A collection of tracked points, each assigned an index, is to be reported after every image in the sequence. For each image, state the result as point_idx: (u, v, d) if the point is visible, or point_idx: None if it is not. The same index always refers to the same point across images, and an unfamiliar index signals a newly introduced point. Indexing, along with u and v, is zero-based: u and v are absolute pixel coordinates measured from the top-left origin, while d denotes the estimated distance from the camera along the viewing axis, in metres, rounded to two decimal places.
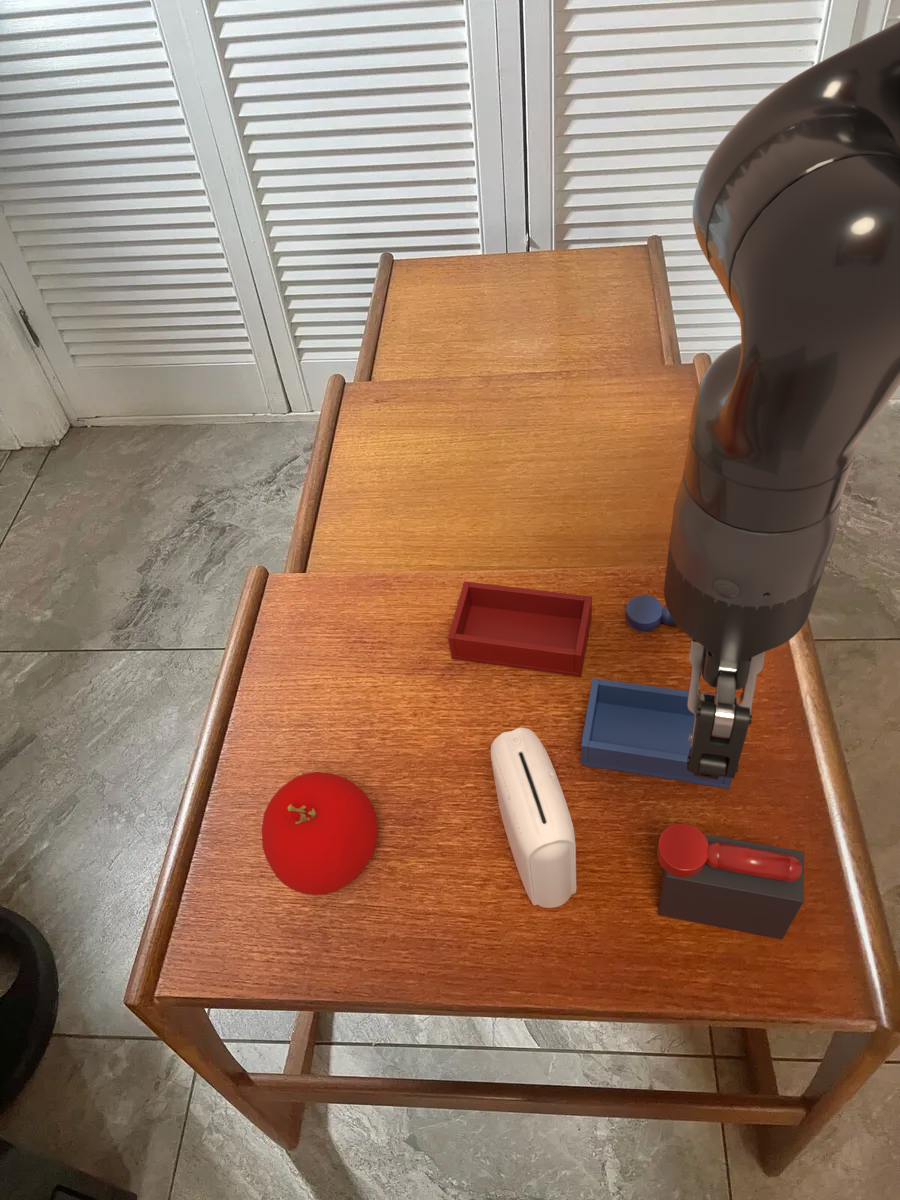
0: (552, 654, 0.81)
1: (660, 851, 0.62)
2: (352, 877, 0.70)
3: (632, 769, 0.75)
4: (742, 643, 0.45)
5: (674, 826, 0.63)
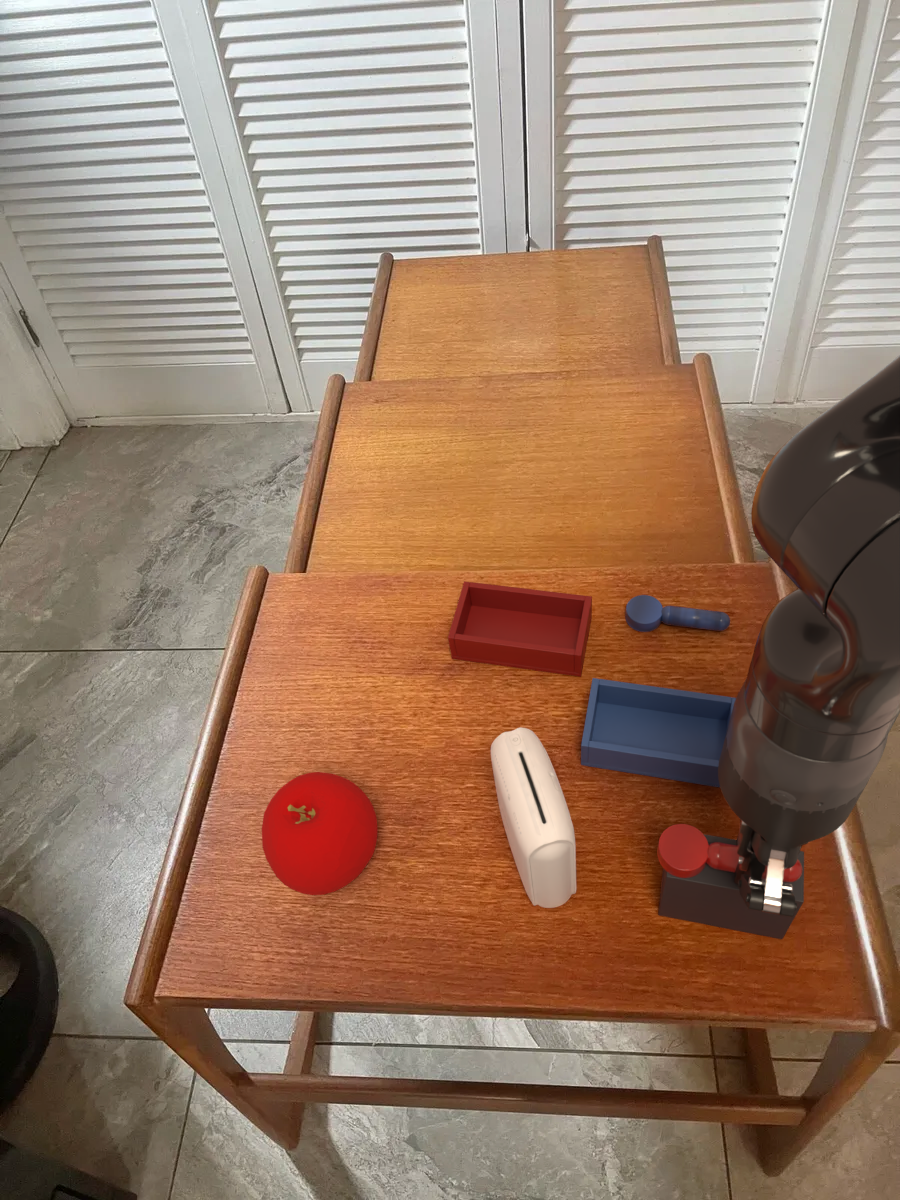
0: (552, 654, 0.81)
1: (660, 851, 0.62)
2: (352, 877, 0.70)
3: (632, 769, 0.75)
4: (794, 835, 0.49)
5: (674, 826, 0.63)
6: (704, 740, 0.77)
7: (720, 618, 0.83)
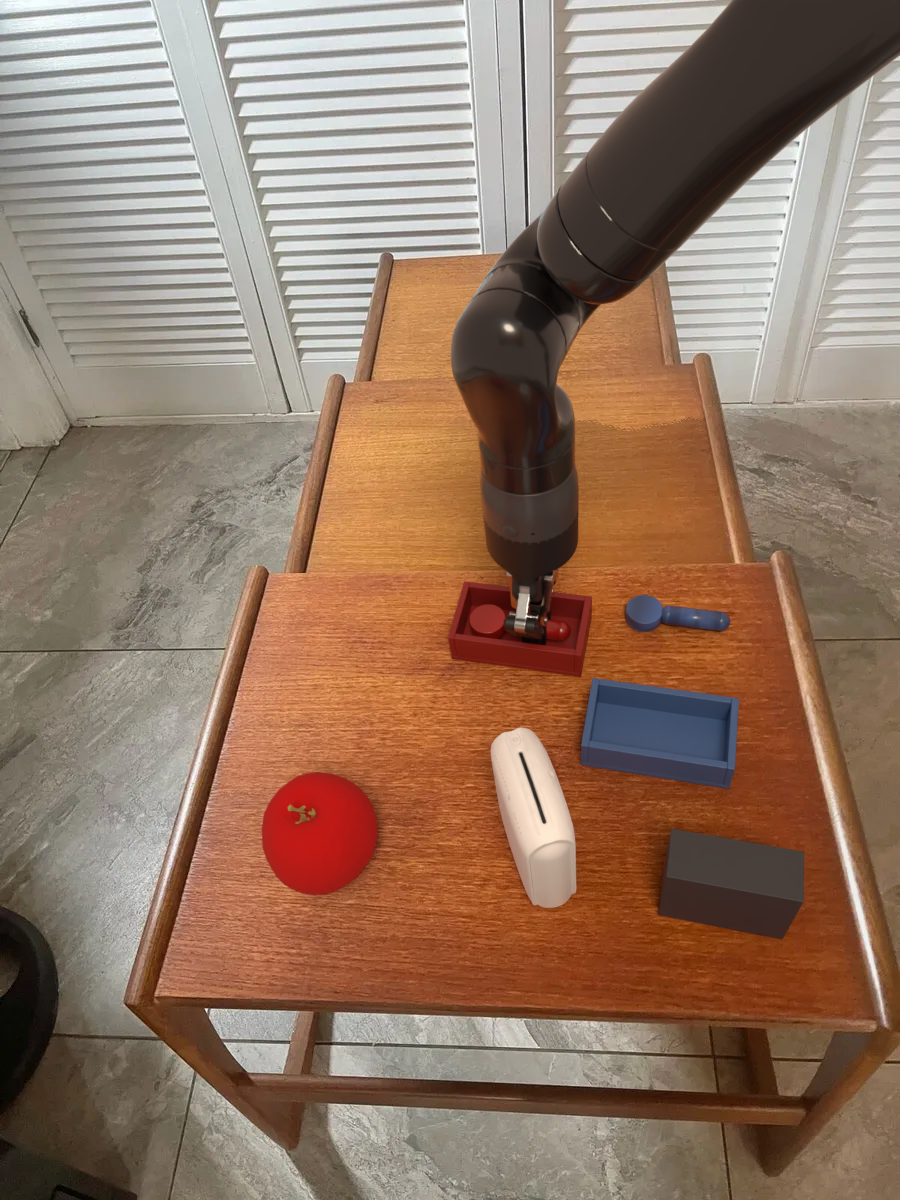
0: (552, 654, 0.81)
1: (470, 621, 0.84)
2: (352, 877, 0.70)
3: (632, 769, 0.75)
4: (528, 568, 0.71)
5: (482, 606, 0.85)
6: (704, 740, 0.77)
7: (720, 618, 0.83)
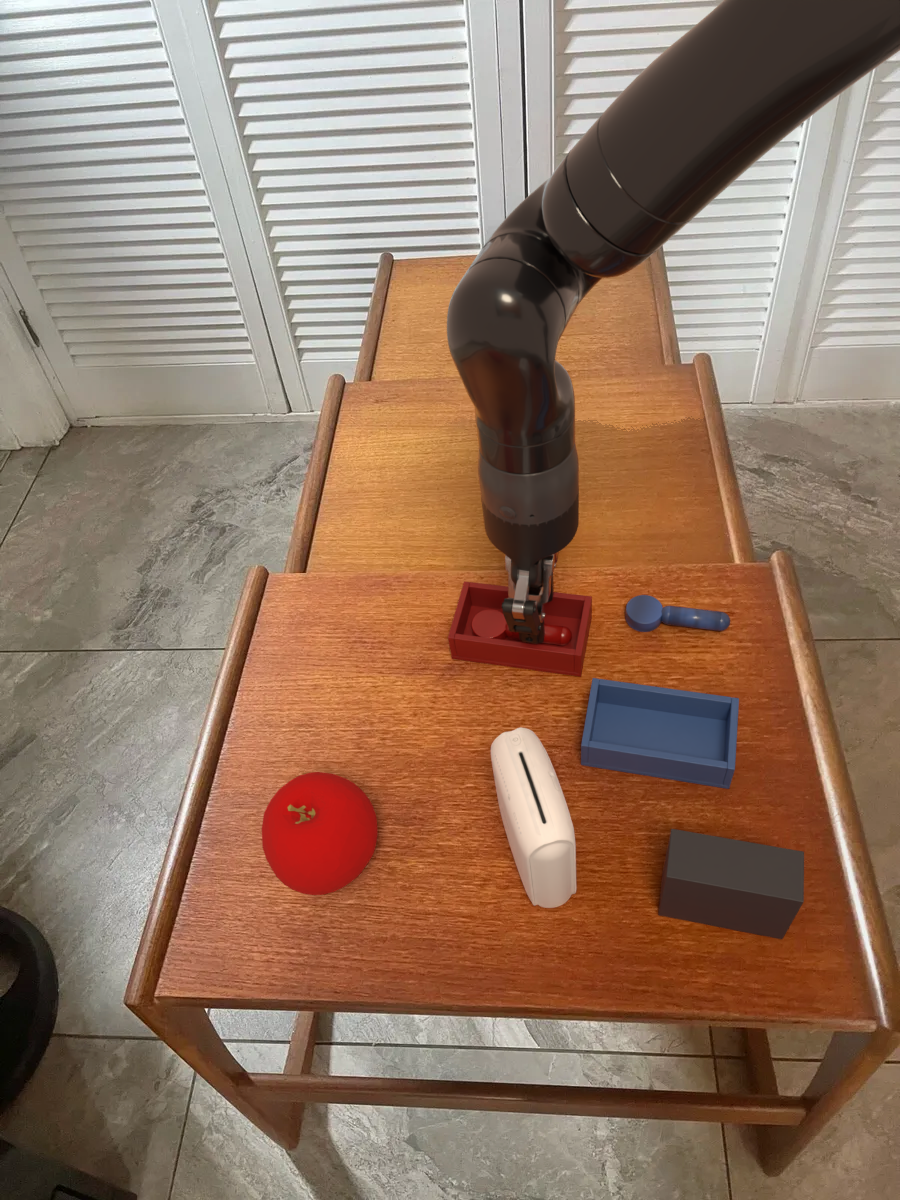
0: (552, 654, 0.81)
1: (472, 626, 0.85)
2: (352, 877, 0.70)
3: (632, 769, 0.75)
4: (527, 551, 0.69)
5: (484, 610, 0.86)
6: (704, 740, 0.77)
7: (720, 618, 0.83)
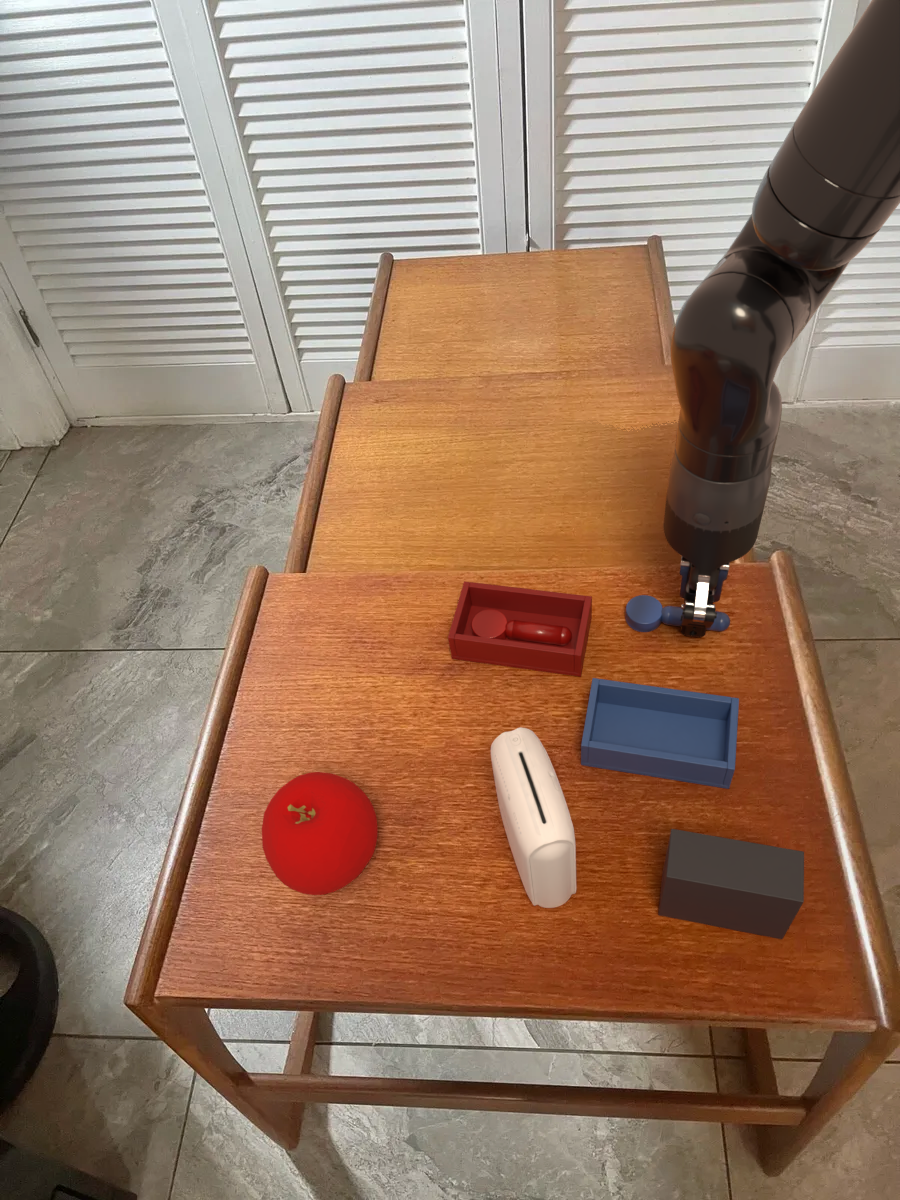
0: (552, 654, 0.81)
1: (472, 626, 0.85)
2: (352, 877, 0.70)
3: (632, 769, 0.75)
4: (713, 557, 0.71)
5: (484, 610, 0.86)
6: (704, 740, 0.77)
7: (720, 618, 0.83)
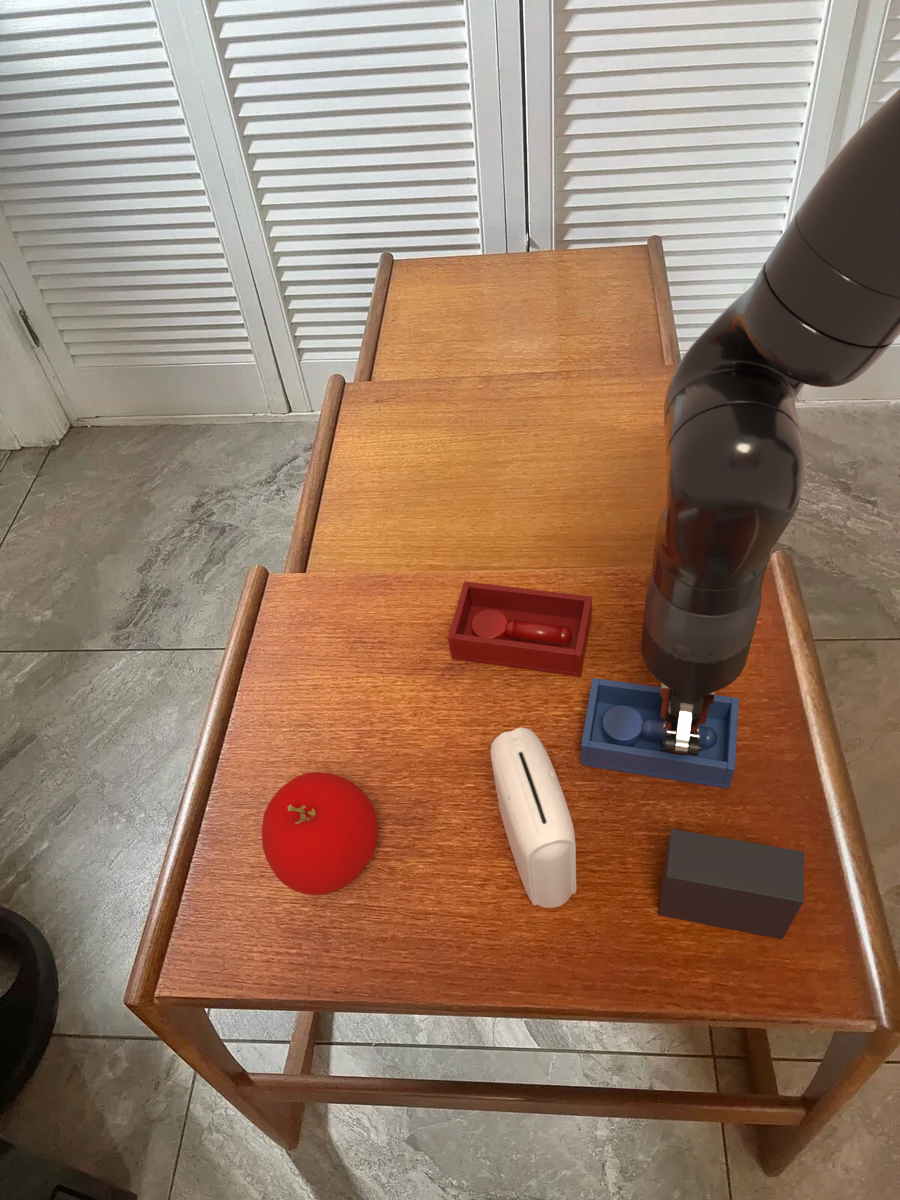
0: (552, 654, 0.81)
1: (472, 626, 0.85)
2: (352, 877, 0.70)
3: (632, 769, 0.75)
4: (696, 687, 0.63)
5: (484, 610, 0.86)
6: None
7: (706, 735, 0.74)
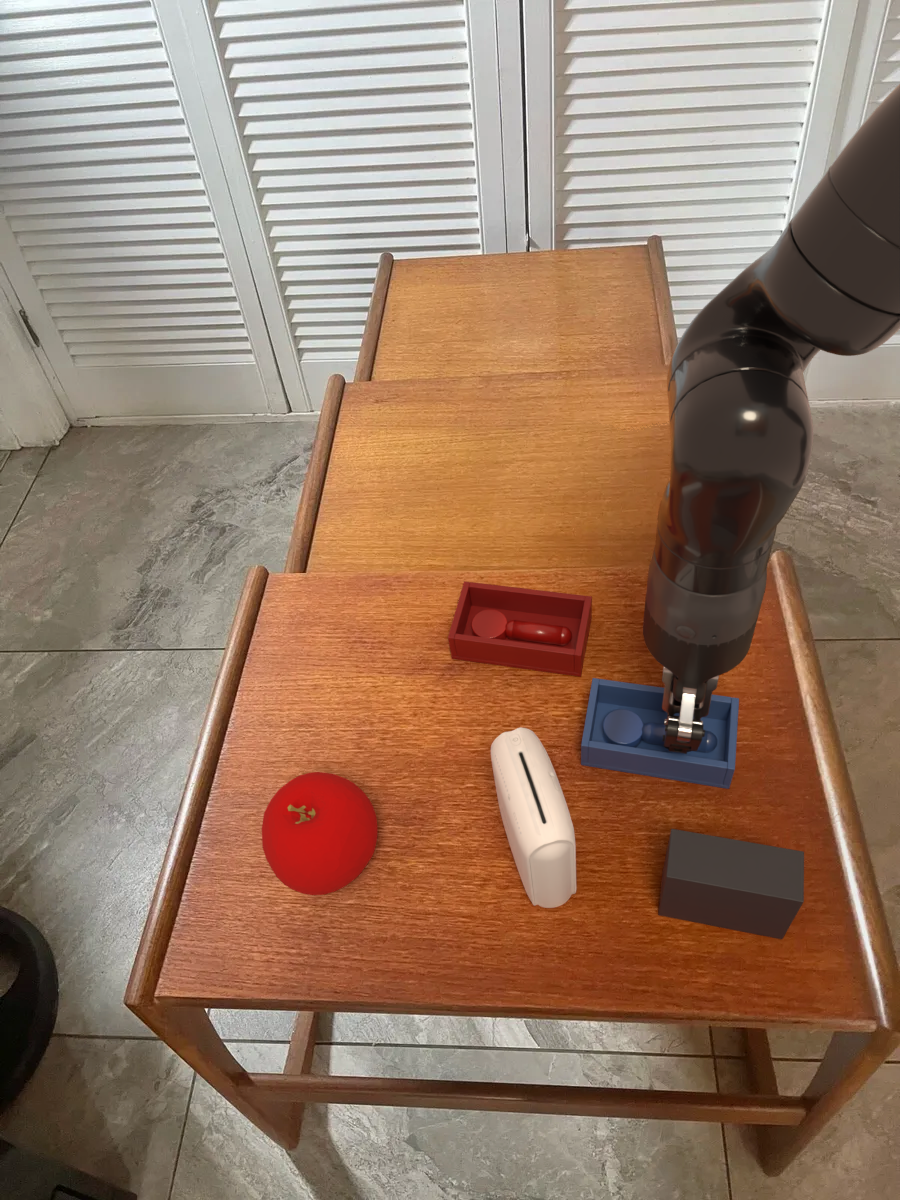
0: (552, 654, 0.81)
1: (472, 626, 0.85)
2: (352, 877, 0.70)
3: (632, 769, 0.75)
4: (699, 670, 0.61)
5: (484, 610, 0.86)
6: None
7: (706, 739, 0.75)
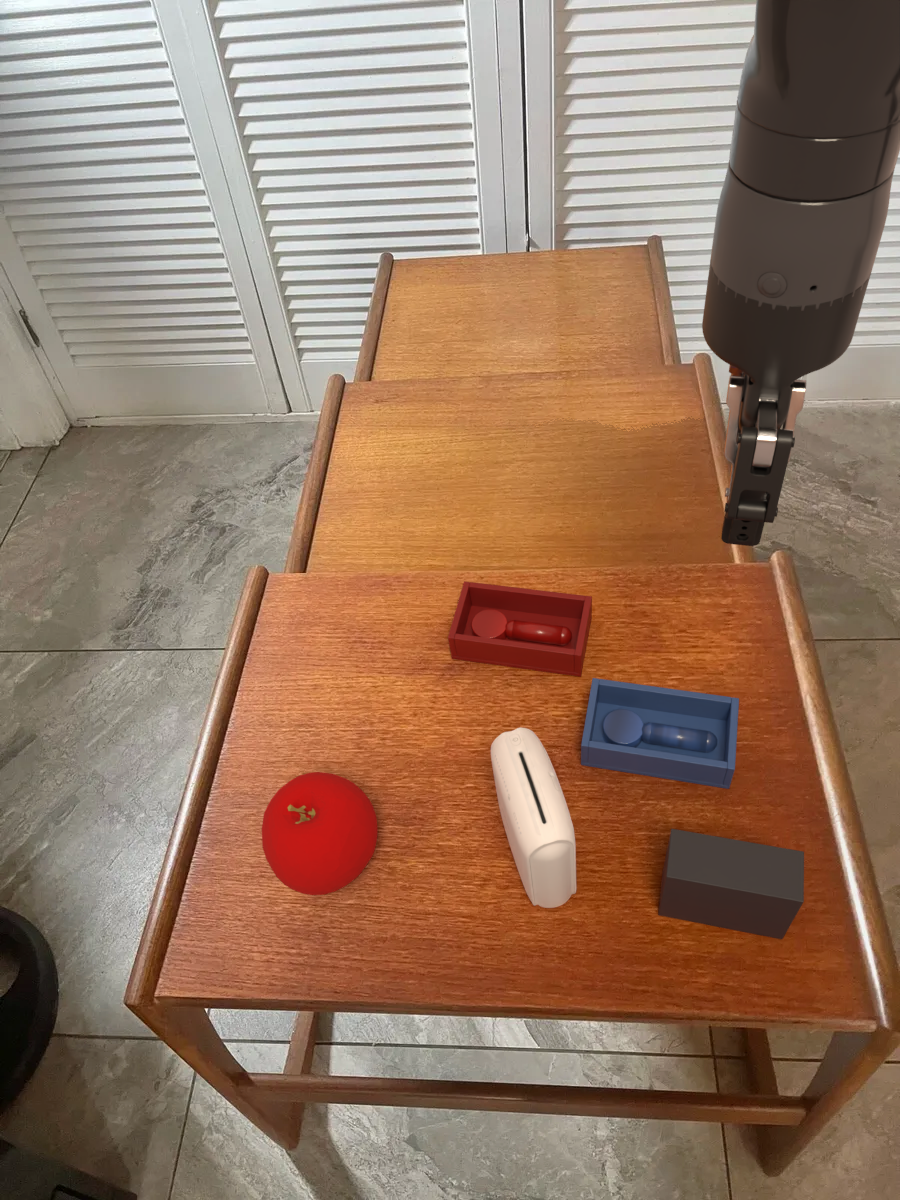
0: (552, 654, 0.81)
1: (472, 626, 0.85)
2: (352, 877, 0.70)
3: (632, 769, 0.75)
4: (785, 360, 0.44)
5: (484, 610, 0.86)
6: None
7: (706, 739, 0.75)
